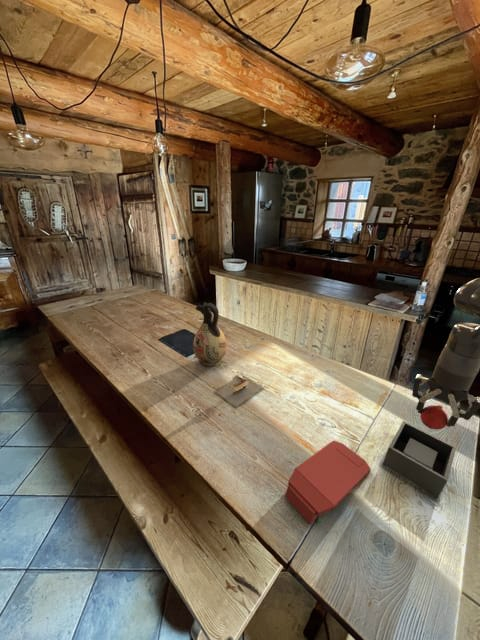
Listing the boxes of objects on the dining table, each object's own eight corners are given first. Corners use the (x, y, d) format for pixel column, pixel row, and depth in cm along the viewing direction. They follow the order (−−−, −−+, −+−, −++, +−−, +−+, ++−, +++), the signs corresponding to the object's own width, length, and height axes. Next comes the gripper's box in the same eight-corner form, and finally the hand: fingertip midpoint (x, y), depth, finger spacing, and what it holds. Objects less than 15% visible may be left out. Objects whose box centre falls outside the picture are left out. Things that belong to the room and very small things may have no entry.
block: (405, 448, 82) (410, 437, 79) (432, 463, 77) (437, 452, 75) (398, 463, 77) (403, 452, 75) (426, 480, 73) (432, 468, 71)
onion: (421, 433, 70) (430, 411, 67) (413, 417, 75) (422, 395, 72) (446, 438, 69) (457, 415, 65) (437, 421, 74) (447, 399, 70)
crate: (396, 438, 86) (403, 420, 83) (446, 465, 78) (456, 447, 74) (381, 465, 77) (388, 447, 74) (436, 500, 69) (447, 481, 66)
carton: (332, 450, 86) (279, 490, 70) (335, 438, 84) (282, 477, 69) (367, 479, 77) (317, 532, 62) (373, 466, 76) (322, 518, 60)
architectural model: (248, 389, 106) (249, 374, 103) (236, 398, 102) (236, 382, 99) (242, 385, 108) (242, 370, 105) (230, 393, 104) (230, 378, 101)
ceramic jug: (187, 361, 124) (181, 301, 110) (211, 348, 134) (209, 292, 121) (211, 376, 113) (208, 313, 100) (236, 361, 124) (236, 301, 111)
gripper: (498, 372, 61) (469, 425, 68) (426, 348, 70) (407, 397, 77) (495, 387, 56) (465, 443, 63) (418, 359, 65) (399, 411, 72)
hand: (433, 417), depth 70 cm, fingers closed on onion, 6 cm apart
